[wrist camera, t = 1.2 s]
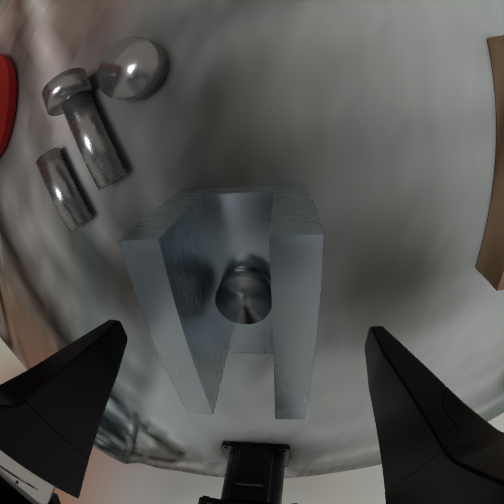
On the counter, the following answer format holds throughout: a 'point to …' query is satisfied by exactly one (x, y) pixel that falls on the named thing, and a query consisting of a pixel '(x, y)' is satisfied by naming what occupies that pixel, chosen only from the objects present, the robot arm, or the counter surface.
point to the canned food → (7, 99)
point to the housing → (231, 287)
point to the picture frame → (496, 181)
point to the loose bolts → (96, 119)
